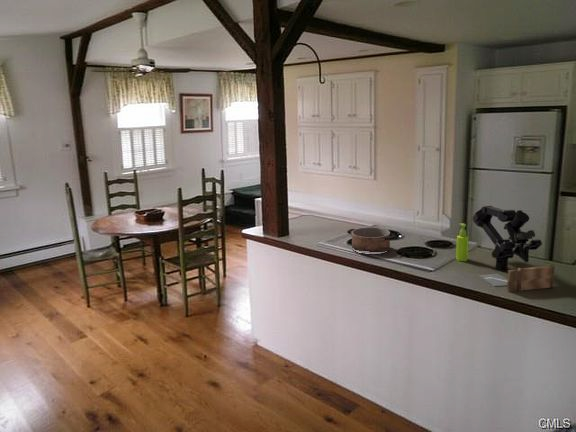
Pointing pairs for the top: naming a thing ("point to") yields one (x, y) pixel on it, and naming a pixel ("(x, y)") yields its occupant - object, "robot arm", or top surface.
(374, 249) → the cooking pot
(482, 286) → the top surface
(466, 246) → the soap dispenser
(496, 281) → the card
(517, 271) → the fence post
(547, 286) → the fence gate
